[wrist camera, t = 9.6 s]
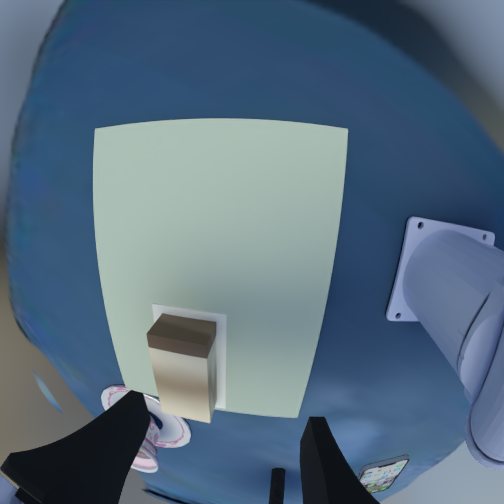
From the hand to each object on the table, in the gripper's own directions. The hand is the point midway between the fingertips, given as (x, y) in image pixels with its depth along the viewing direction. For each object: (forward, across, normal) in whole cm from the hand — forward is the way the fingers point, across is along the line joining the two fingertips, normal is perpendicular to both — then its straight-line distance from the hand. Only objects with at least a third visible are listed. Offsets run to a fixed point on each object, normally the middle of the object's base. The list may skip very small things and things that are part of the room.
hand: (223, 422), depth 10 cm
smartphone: (+11, -22, +32) cm, 40 cm away
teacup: (+11, +12, +18) cm, 24 cm away
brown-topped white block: (+10, +4, +6) cm, 12 cm away
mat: (+10, +4, -1) cm, 11 cm away
